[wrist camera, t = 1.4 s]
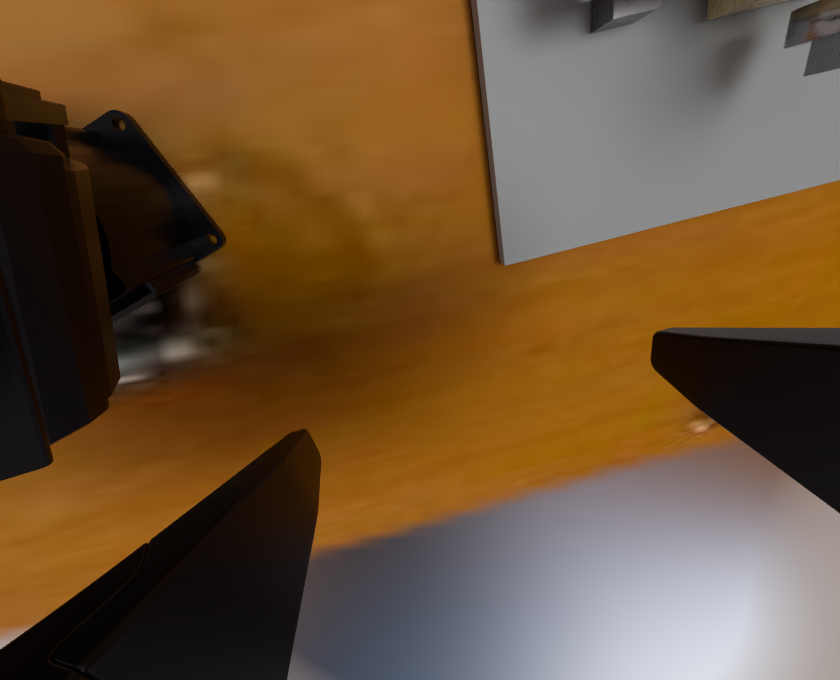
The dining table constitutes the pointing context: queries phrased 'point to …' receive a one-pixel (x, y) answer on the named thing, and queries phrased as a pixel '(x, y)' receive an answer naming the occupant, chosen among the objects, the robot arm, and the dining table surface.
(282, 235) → the dining table surface
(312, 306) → the dining table surface
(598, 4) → the ball valve
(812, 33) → the valve lever
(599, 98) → the mounting board
